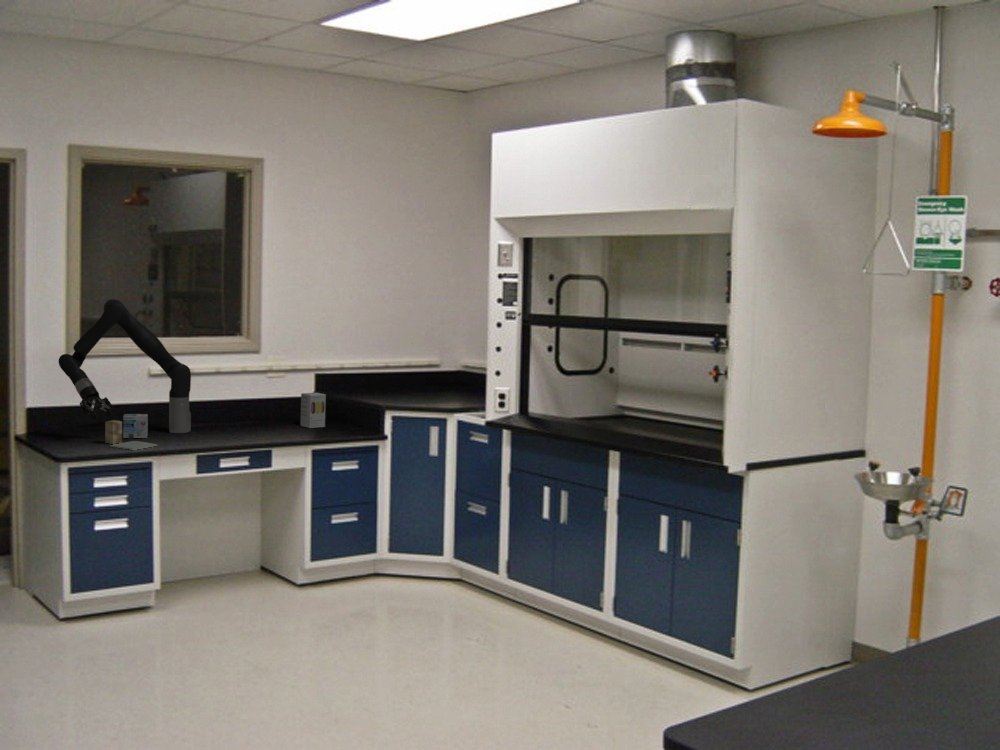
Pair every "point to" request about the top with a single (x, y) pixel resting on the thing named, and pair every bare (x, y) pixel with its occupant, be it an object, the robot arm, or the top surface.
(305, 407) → the supplement box
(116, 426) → the beech block
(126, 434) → the light bulb box
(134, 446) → the sage tile
